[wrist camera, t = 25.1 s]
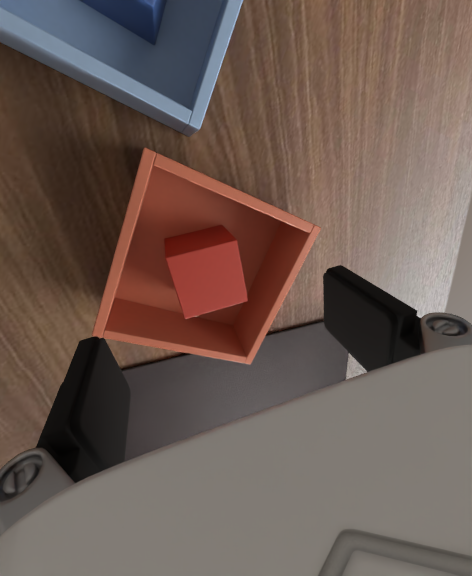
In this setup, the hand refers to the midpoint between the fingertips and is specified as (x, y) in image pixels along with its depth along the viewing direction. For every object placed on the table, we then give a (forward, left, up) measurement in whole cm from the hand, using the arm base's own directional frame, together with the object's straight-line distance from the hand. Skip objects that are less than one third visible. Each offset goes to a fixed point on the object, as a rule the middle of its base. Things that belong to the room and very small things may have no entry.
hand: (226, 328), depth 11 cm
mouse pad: (+13, -21, -11) cm, 28 cm away
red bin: (0, 0, -11) cm, 11 cm away
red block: (+1, 0, -11) cm, 11 cm away
